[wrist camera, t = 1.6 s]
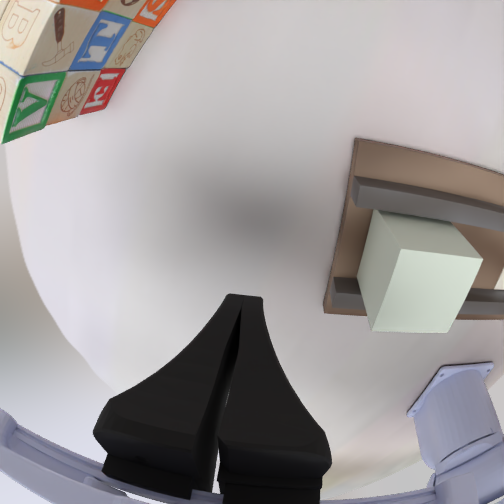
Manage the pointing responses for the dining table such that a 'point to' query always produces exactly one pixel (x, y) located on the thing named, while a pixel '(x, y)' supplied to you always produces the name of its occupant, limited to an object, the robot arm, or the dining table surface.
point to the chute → (425, 205)
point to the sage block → (415, 273)
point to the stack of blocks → (66, 57)
